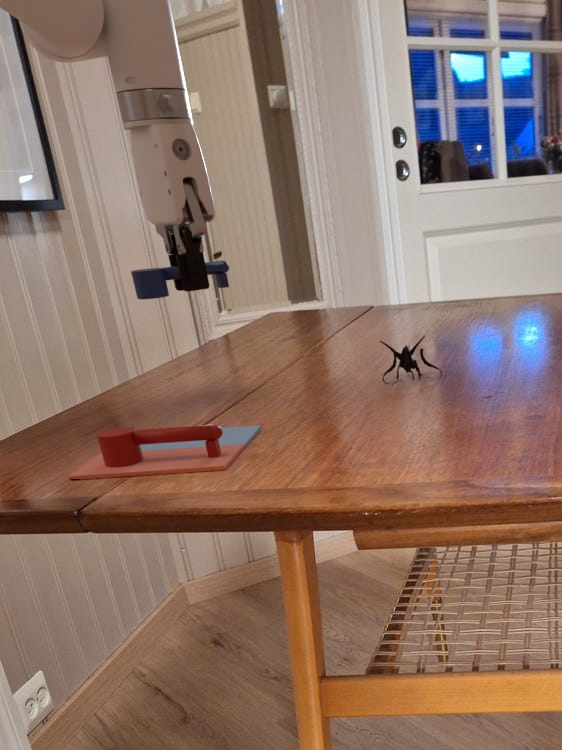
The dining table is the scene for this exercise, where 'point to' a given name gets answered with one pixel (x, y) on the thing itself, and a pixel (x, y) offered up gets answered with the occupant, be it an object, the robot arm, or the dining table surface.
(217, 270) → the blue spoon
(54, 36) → the robot arm
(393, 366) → the creature
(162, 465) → the mat
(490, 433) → the dining table surface
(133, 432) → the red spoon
